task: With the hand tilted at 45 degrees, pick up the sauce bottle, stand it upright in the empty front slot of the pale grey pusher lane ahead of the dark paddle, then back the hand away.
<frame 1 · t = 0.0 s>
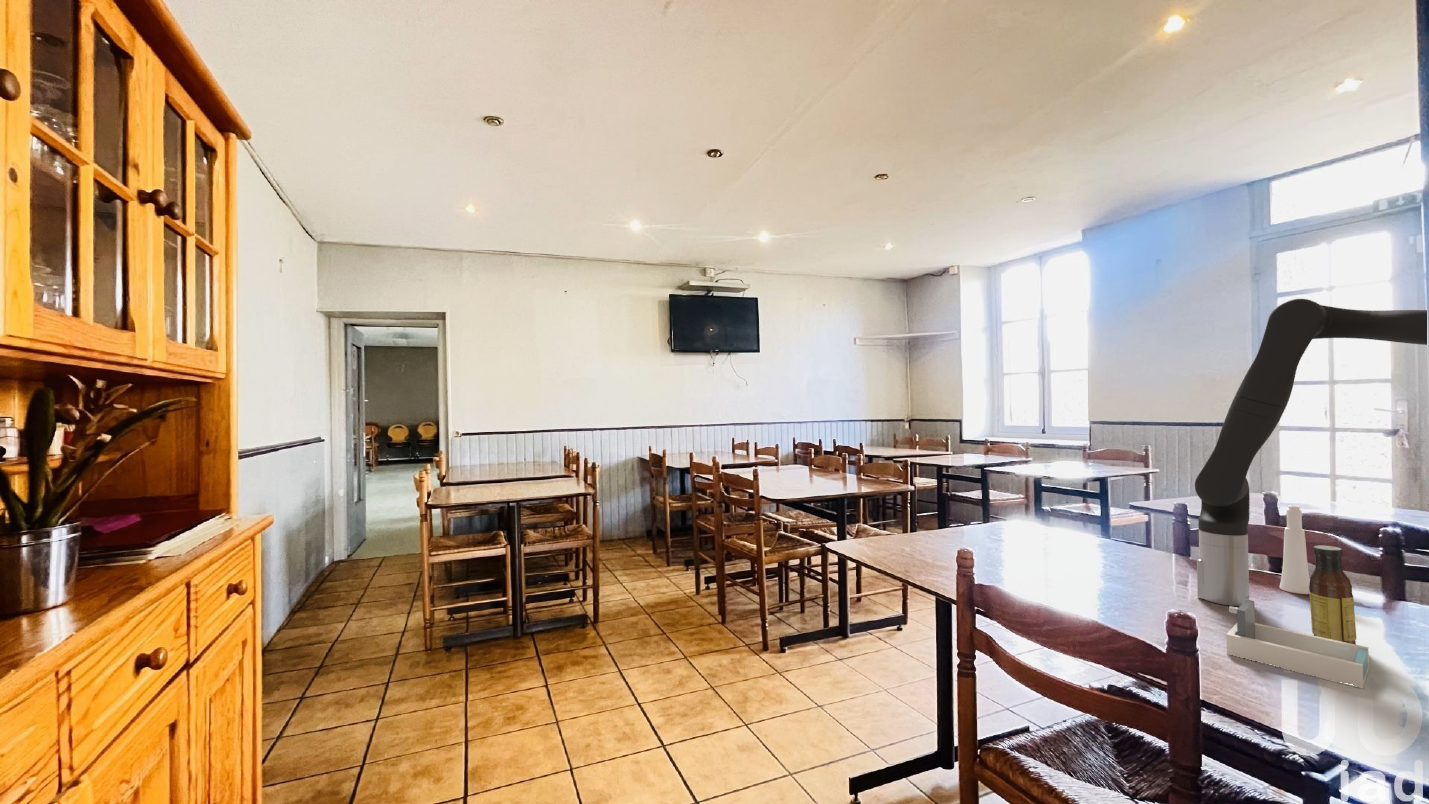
cosmetic bottle: (1295, 591, 149), on the table
sauce bottle: (1333, 644, 118), on the table
pusher lane: (1295, 661, 111), on the table
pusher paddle: (1239, 622, 117), point 5 cm above the table, slide at 0.0 cm
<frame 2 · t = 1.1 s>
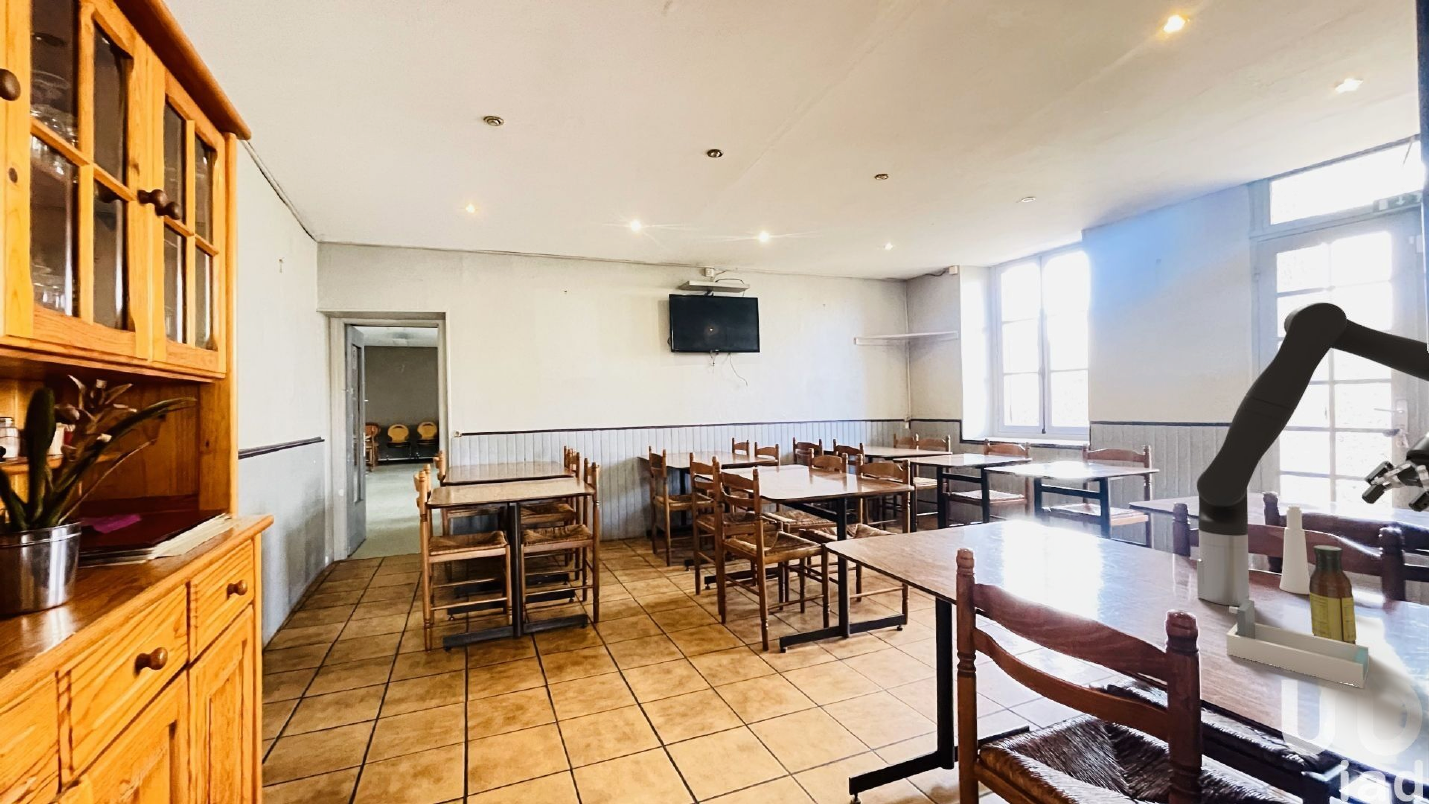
hand: (1389, 504, 117), 28 cm above the table, tool tilted 45°, fingers open, 8 cm apart
nothing on the table moved.
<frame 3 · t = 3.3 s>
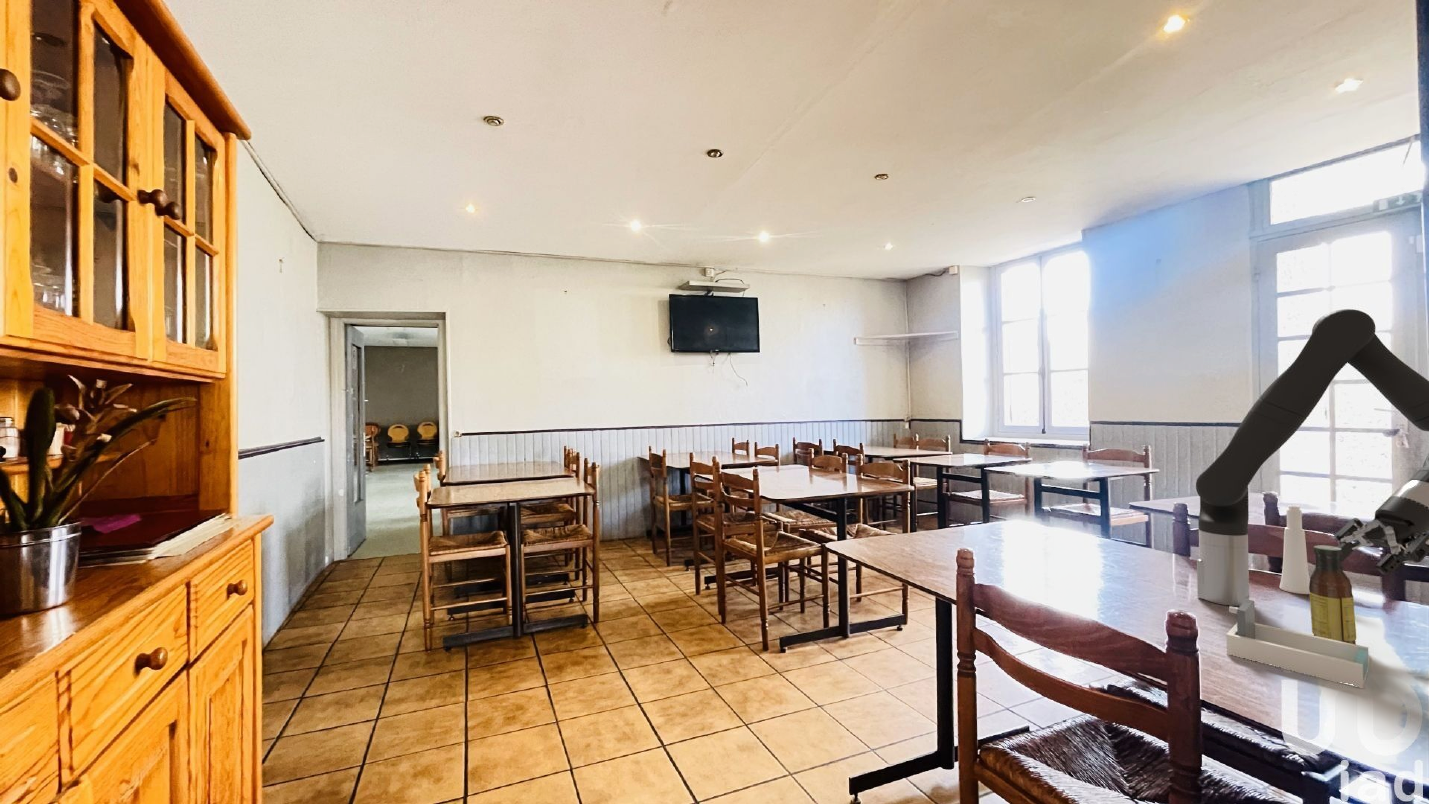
hand: (1357, 564, 117), 16 cm above the table, tool tilted 45°, fingers open, 8 cm apart
nothing on the table moved.
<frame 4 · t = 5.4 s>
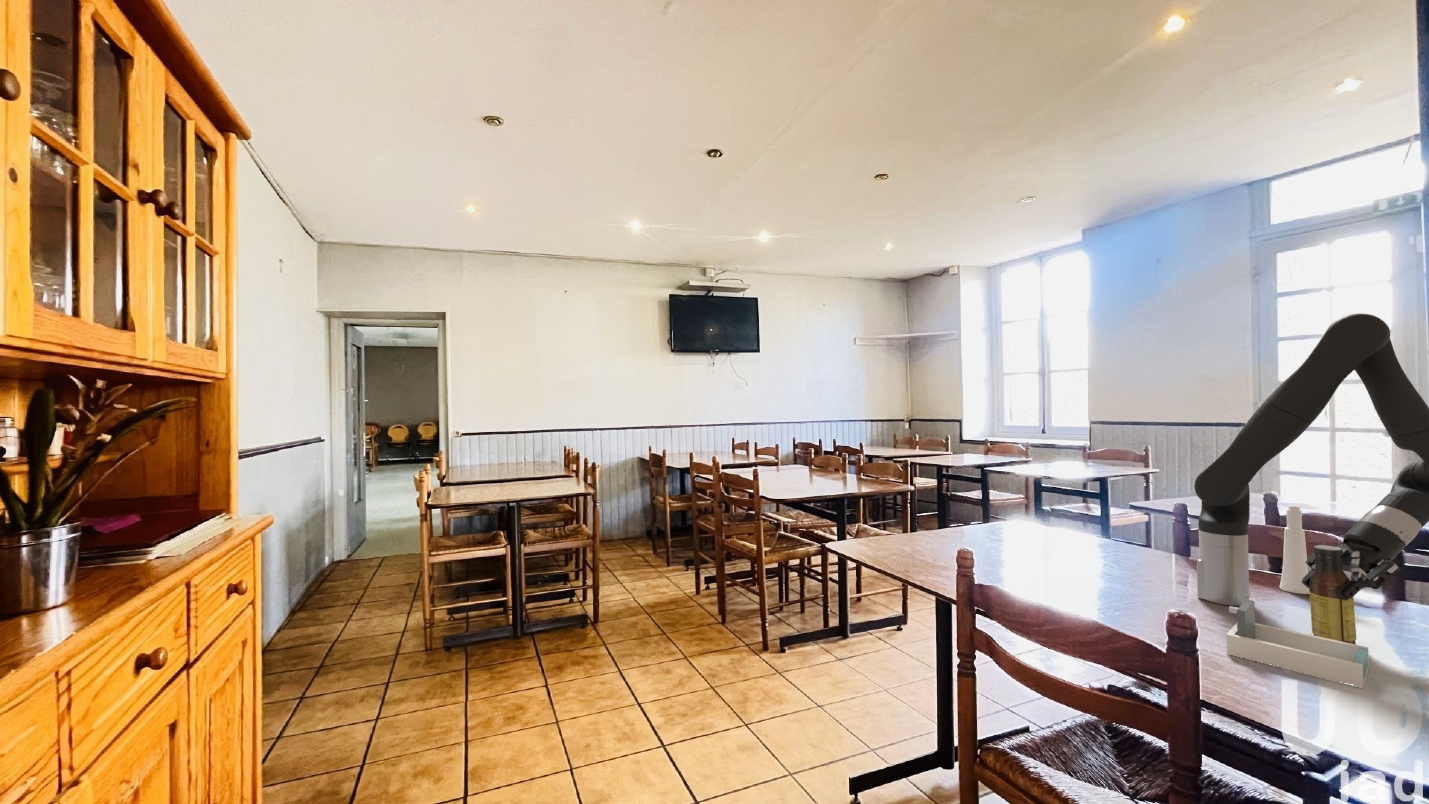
hand: (1323, 591, 118), 11 cm above the table, tool tilted 45°, fingers closed on sauce bottle, 6 cm apart
sauce bottle: (1332, 644, 118), on the table, touching gripper
everything else where it was.
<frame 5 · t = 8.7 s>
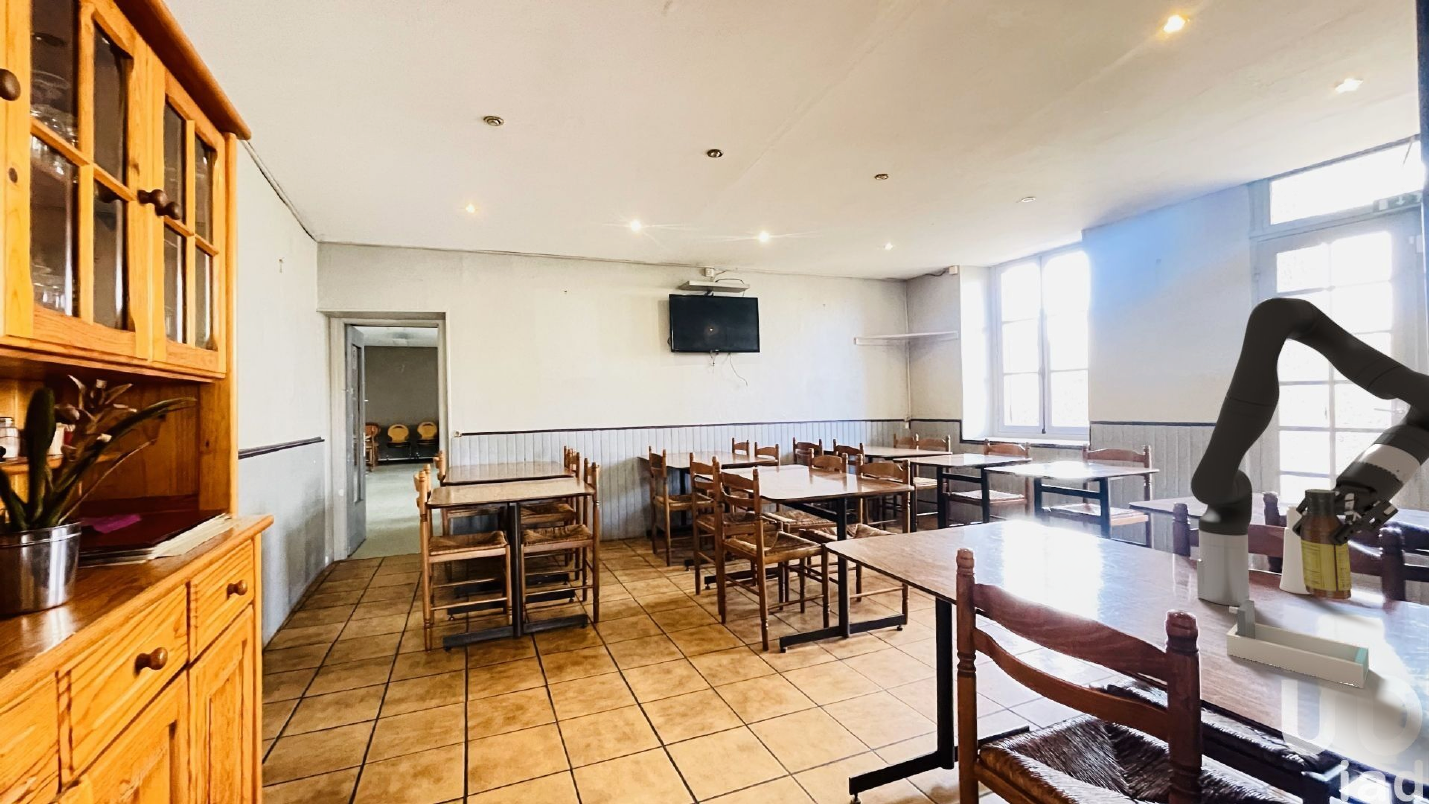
hand: (1315, 537, 109), 24 cm above the table, tool tilted 45°, fingers closed on sauce bottle, 6 cm apart
sauce bottle: (1326, 596, 109), point 13 cm above the table, touching gripper
everything else where it was.
when the fingers open (13 cm above the table, at t = 12.1 s): sauce bottle drops 2 cm, resting on pusher lane.
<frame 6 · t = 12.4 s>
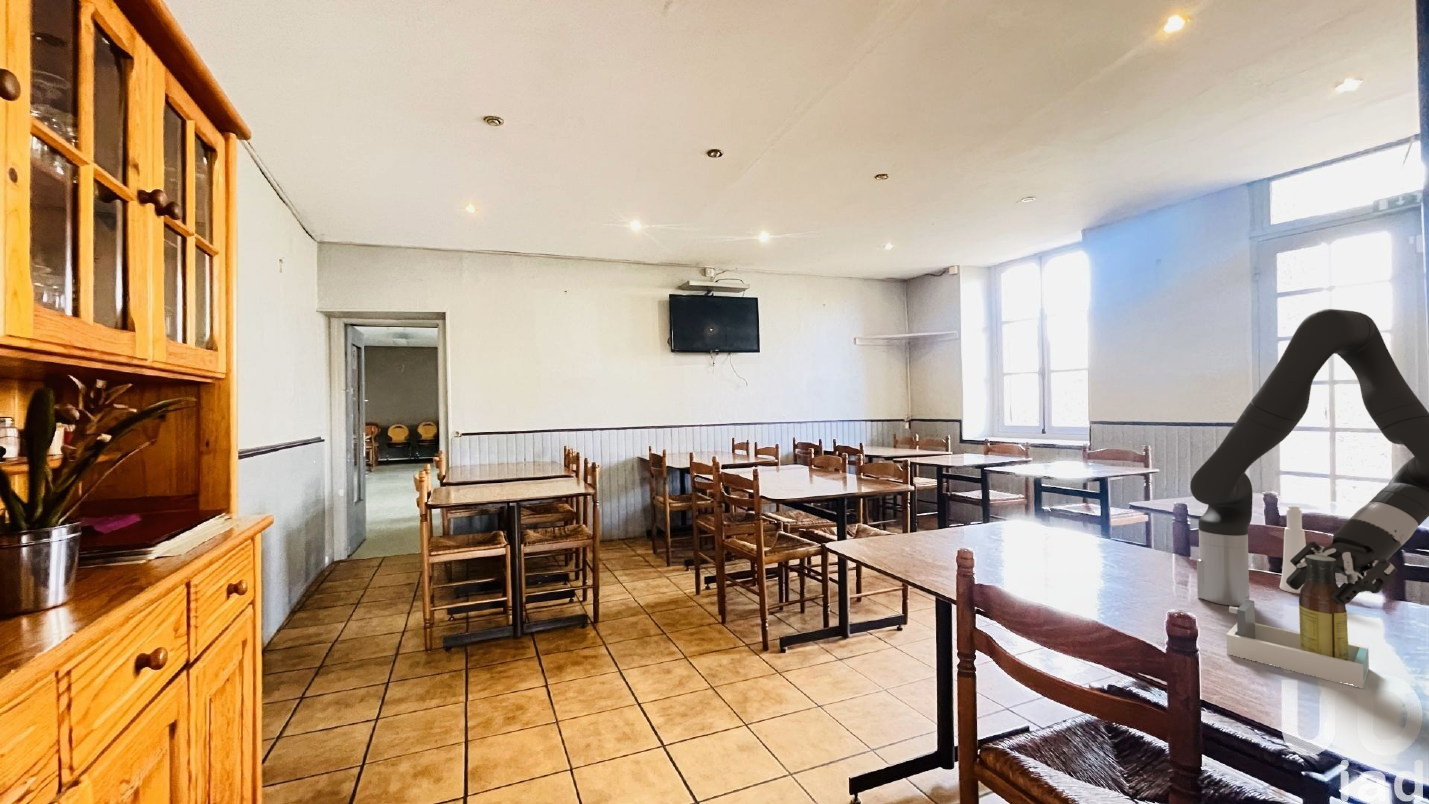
hand: (1312, 593, 108), 14 cm above the table, tool tilted 45°, fingers open, 8 cm apart
sauce bottle: (1322, 663, 108), point 1 cm above the table, touching pusher lane
everything else where it was.
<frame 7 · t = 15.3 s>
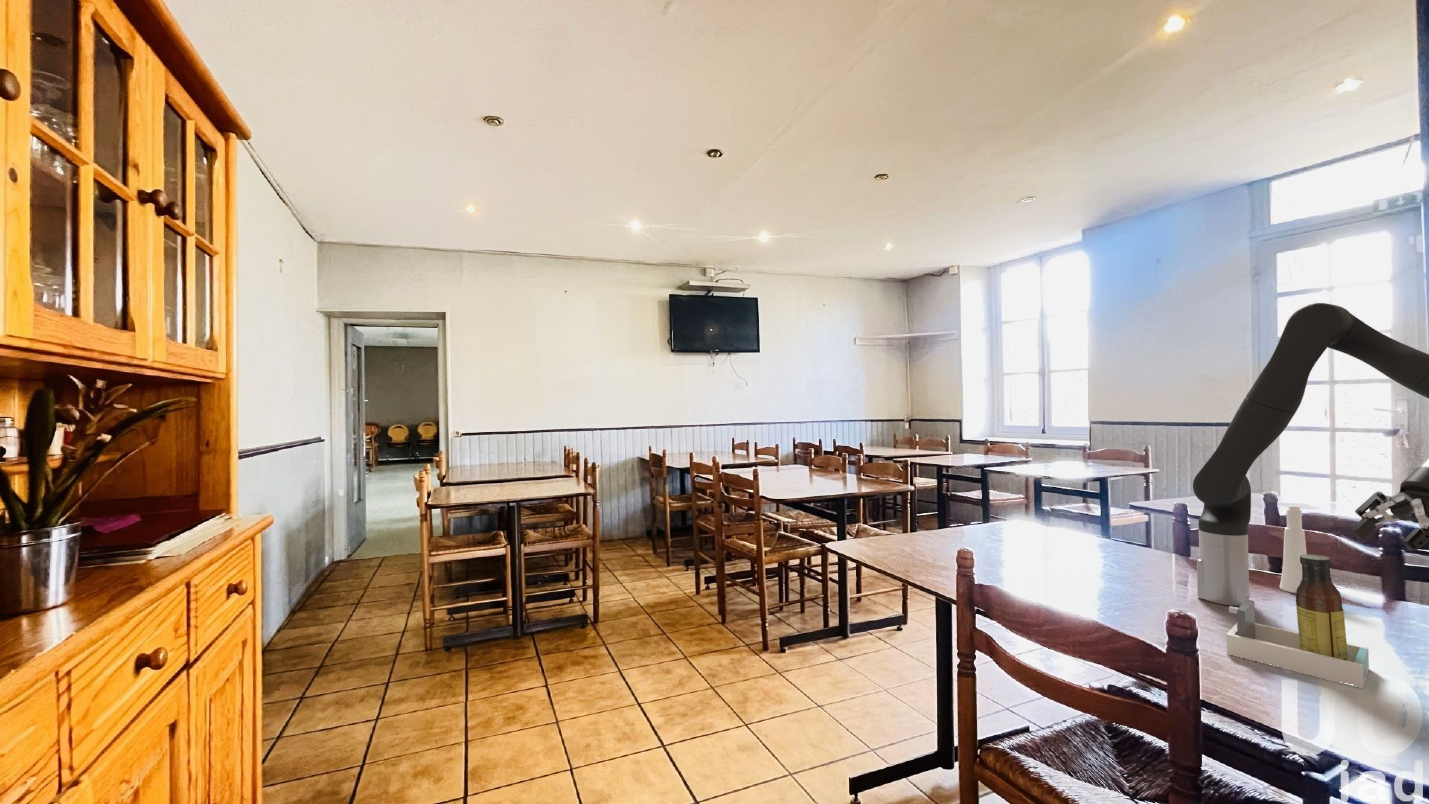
hand: (1381, 541, 107), 24 cm above the table, tool tilted 45°, fingers open, 8 cm apart
nothing on the table moved.
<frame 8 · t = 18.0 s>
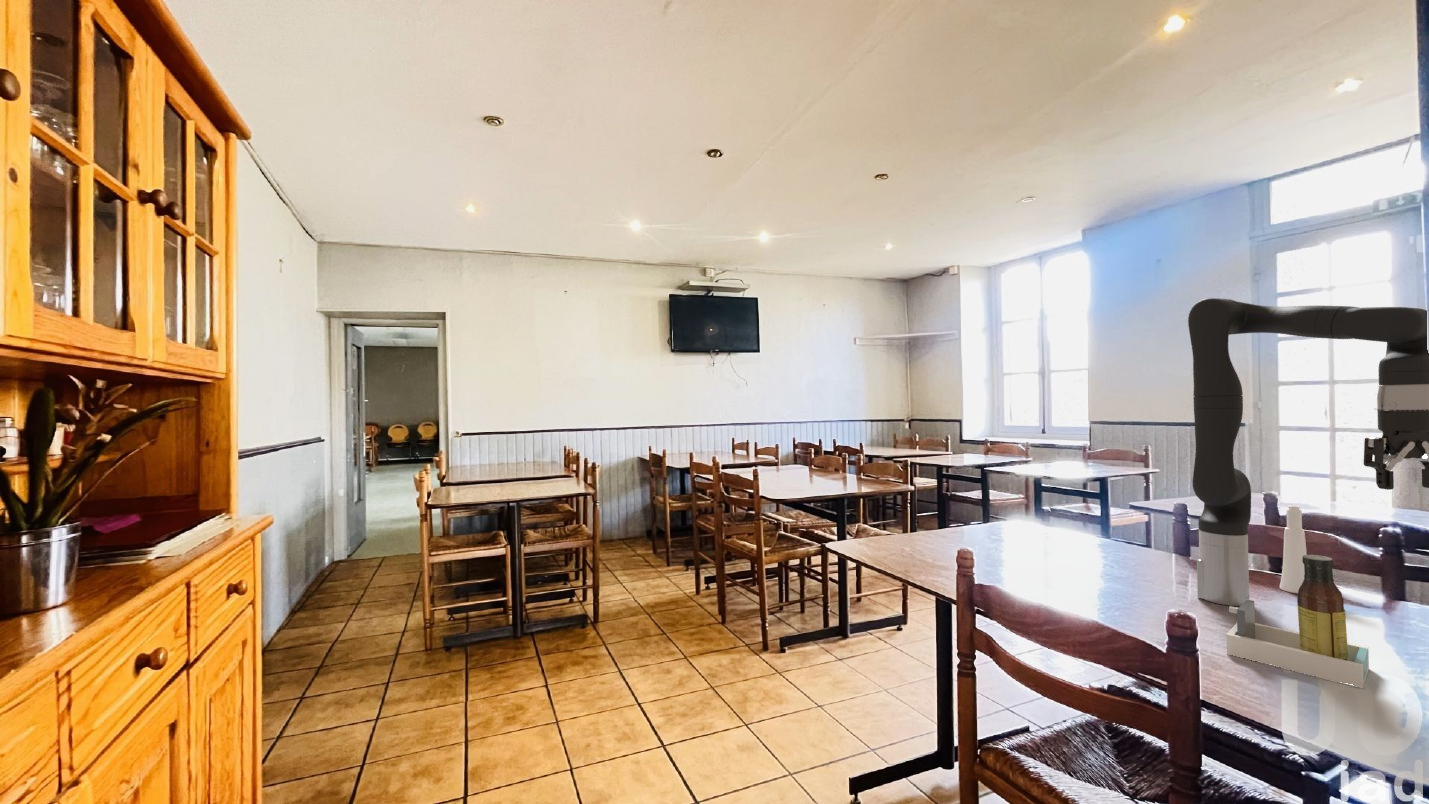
hand: (1407, 488, 115), 32 cm above the table, tool pointing down, fingers open, 8 cm apart
nothing on the table moved.
at the end: sauce bottle inside the target area on the pusher lane (2.6 cm from its centre), point 0.8 cm above the pusher lane's base; sauce bottle tilted 0°; the gripper is holding nothing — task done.
